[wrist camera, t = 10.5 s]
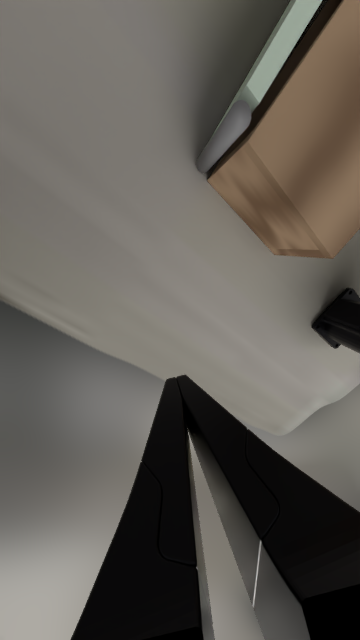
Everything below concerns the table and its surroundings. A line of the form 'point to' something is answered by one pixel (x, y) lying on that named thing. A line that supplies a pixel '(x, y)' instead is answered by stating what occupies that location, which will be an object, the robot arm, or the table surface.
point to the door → (258, 80)
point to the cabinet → (303, 145)
